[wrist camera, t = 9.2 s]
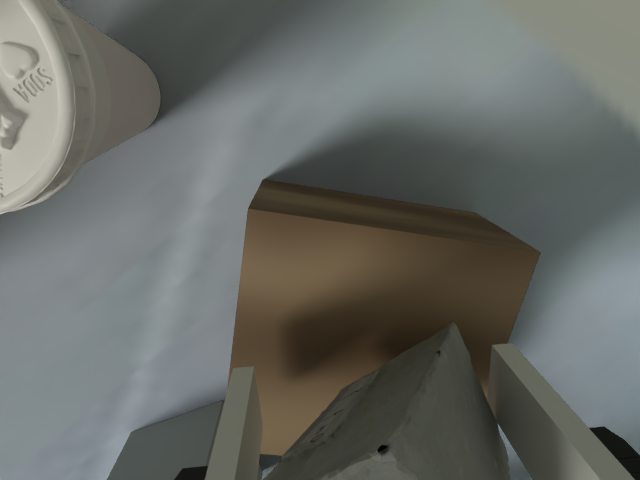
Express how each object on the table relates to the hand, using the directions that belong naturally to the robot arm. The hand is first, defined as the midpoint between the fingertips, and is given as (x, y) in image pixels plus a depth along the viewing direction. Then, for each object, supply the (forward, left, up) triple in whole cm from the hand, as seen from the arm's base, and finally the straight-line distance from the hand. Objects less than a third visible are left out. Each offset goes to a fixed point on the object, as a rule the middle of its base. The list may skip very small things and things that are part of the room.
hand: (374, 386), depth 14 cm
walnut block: (0, 0, -8) cm, 8 cm away
